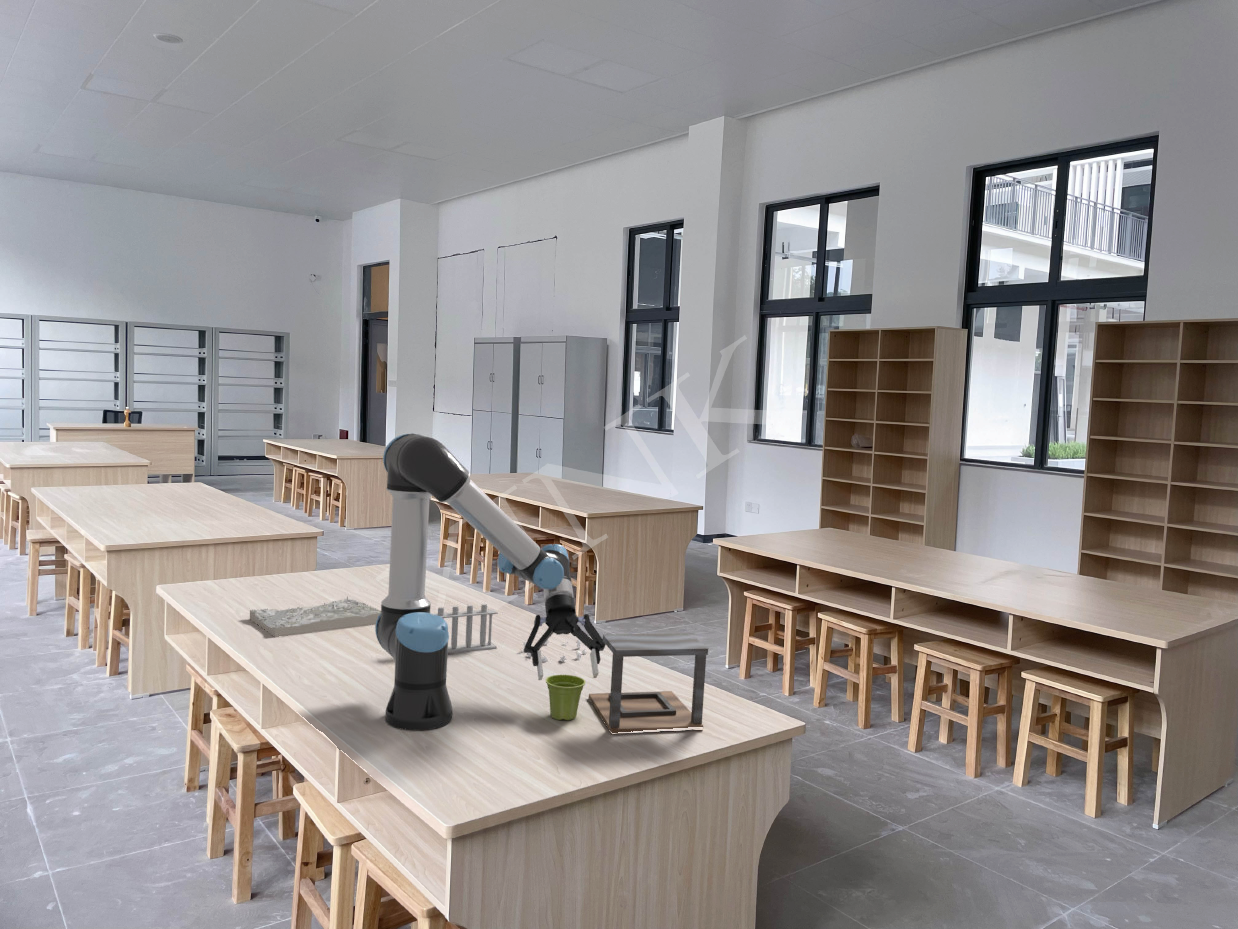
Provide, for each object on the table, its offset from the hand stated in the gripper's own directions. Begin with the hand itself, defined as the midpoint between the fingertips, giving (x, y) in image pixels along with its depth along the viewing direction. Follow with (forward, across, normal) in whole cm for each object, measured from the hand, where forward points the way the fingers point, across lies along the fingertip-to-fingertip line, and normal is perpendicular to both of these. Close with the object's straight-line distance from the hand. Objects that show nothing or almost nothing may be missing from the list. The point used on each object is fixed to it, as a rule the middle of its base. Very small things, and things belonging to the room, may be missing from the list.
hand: (568, 676), depth 214 cm
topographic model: (-55, +63, -69) cm, 108 cm away
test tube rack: (-30, +23, -43) cm, 58 cm away
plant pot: (+9, +2, -4) cm, 9 cm away
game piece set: (-27, -6, -40) cm, 49 cm away
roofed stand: (+9, -18, -3) cm, 20 cm away
